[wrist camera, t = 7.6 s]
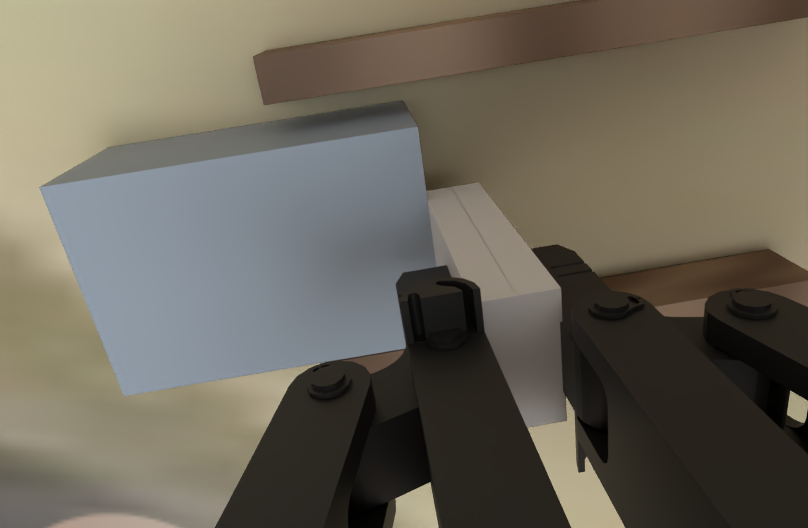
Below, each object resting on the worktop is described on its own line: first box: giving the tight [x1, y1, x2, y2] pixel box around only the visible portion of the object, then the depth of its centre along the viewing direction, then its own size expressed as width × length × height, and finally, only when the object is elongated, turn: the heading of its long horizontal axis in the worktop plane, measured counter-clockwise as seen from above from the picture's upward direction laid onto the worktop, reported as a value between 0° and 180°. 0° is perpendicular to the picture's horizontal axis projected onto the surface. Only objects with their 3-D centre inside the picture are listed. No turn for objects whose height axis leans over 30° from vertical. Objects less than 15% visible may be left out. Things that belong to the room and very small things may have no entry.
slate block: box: [39, 101, 436, 396], centre depth 17 cm, size 9×6×4 cm, turn 98°
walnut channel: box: [253, 0, 808, 374], centre depth 18 cm, size 16×10×2 cm, turn 98°
